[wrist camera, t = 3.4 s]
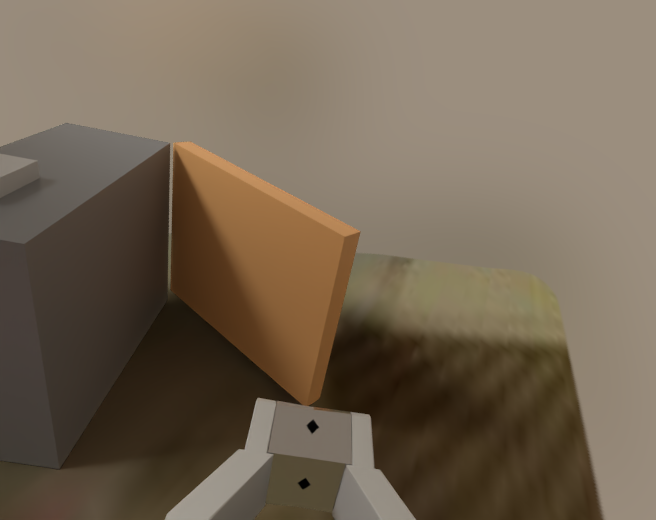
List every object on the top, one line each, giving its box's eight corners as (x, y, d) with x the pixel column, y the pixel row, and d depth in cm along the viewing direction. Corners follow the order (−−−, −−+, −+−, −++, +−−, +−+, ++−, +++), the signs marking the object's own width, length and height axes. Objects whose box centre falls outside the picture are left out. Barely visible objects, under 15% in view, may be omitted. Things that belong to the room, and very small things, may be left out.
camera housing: (-83, 448, 26) (-181, 186, 18) (87, 278, 42) (73, 107, 35) (59, 469, 26) (21, 223, 19) (171, 293, 43) (175, 126, 35)
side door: (305, 407, 32) (344, 236, 26) (170, 290, 42) (173, 142, 35) (330, 390, 34) (372, 227, 28) (195, 282, 44) (203, 140, 37)
